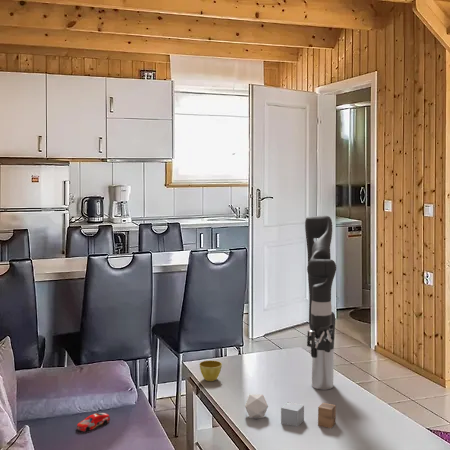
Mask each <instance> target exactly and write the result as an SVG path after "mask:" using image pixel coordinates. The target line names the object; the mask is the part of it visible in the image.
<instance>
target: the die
mask: <svg viewBox="0 0 450 450" xmlns="http://www.w3.org/2000/svg"><path fill="white" fill-rule="evenodd" d="M268 407H269V405H268V403H267V400H266V398H265V395H264V394H249V395H248V397H247V400H246V403H245V405H244V408H245V410H246V413H247V415H248V417H249V419H264V418H265V415H266V413H267V409H268Z"/></svg>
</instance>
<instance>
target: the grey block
mask: <svg viewBox="0 0 450 450" xmlns="http://www.w3.org/2000/svg"><path fill="white" fill-rule="evenodd" d="M304 421H305V404H300V403H295V402H289V401H287V402H286V403H285V404H284V405H283V406H281V407H280V424H283V425H286V426H287V425H288V426H292V427H295V428H298V427H299V426H300V425H301V424H302V423H303V422H304Z"/></svg>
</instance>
